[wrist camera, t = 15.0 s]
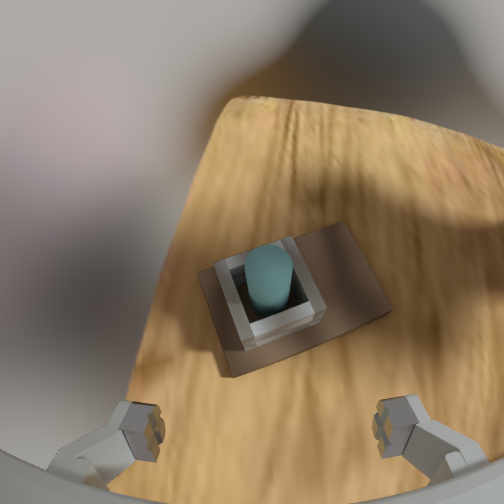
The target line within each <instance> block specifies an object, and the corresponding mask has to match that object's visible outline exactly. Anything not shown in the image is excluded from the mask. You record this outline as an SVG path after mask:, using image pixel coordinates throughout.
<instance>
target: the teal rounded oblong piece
mask: <svg viewBox="0 0 504 504" xmlns="http://www.w3.org/2000/svg"><path fill="white" fill-rule="evenodd" d="M292 270H293V263H292V259H291V257H290V255H289V254H288V253H287V252H286V251H285V250H284V249H282V248H281V247H278V246H275V245H262V246H259V247H257V248H255V249H254V250H252V251H251V252H250V253H249V255H248V256H247V258H246V261H245V274H246V279H247V285H248V291H249V296H250V302H251V307H252V309H253V311H254V313H255V314H256V315H257V316H259V317H261V318H263V319H264V318H267V317H270V316H272V315H275V314H278V313H280V312H283V311H285V310H286V308H287V304H288V298H289V291H290V284H291V277H292Z"/></svg>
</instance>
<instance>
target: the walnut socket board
mask: <svg viewBox="0 0 504 504" xmlns="http://www.w3.org/2000/svg"><path fill="white" fill-rule="evenodd" d="M266 245H275V246H278V247H281V248H282V249H284V250H285V251H286V252H287V253H288V254H289V255H290V257H291V259H292V263H293V270H292V277H291V284H290V291H289V298H288V304H287V308H286V310H285V311H283V312H280V313H278V314H275V315H272V316H270V317H267V318H264V319H263V318H261V317H259V316H257V315H256V314H255V313H254V311H253V309H252V307H251V302H250V296H249V291H248V285H247V279H246V274H245V261H246V258H247V256H248V255H249V253H250V252H251V251H252V250H254V249H252V250H249V251H246V252H243V253H240V254H237V255H235V256H232V257H229V258H226V259H223V260H220V261H217V262H215V263H213V264H214V267H211V268H208V269H206V270H203V271H200V272H198V276H199V279H200V282H201V285H202V288H203V291H204V294H205V297H206V300H207V303H208V307H209V310H210V313H211V316H212V318H213V321H214V324H215V327H216V330H217V333H218V336H219V339H220V342H221V345H222V347H223V350H224V353H225V356H226V359H227V362H228V364H229V367H230V370H231V373H232V375H233V377H234V378H235V377H238V376H241V375H244V374H247V373H249V372H252V371H255V370H258V369H261V368H263V367H266V366H269V365H271V364H274V363H276V362H279V361H282V360H284V359H287V358H289V357H292V356H294V355H297V354H299V353H302V352H304V351H307V350H309V349H311V348H314V347H316V346H318V345H321V344H323V343H325V342H328V341H330V340H332V339H335V338H337V337H339V336H341V335H344V334H346V333H348V332H350V331H352V330H354V329H357V328H359V327H361V326H363V325H365V324H367V323H369V322H371V321H373V320H376V319H378V318H380V317H382V316H384V315H386V314H388V313H390V312H391V311H392V310H393V308H392V306H391V304H390V302H389V300H388V298H387V296H386V295H385V293H384V291H383V289H382V287H381V285H380V283H379V282H378V280H377V278H376V276H375V274H374V272H373V271H372V269H371V267H370V265H369V263H368V262H367V260H366V258H365V256H364V255H363V253H362V251H361V249H360V248H359V246H358V244H357V243H356V241H355V239H354V238H353V236H352V234H351V232H350V231H349V229H348V227H347V226H346V224H345V223H344V221H342V222H339V223H337V224H334V225H331V226H328V227H325V228H322V229H320V230H317V231H314V232H311V233H308V234H305V235H302V236H300V237H297V238H294V239H293V238H292V236H289V237H286V238H283V239H280V240H277V241H275V242H272V243H269V244H266Z"/></svg>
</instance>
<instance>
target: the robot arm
mask: <svg viewBox="0 0 504 504" xmlns="http://www.w3.org/2000/svg"><path fill="white" fill-rule="evenodd" d="M376 408H377V411H378V412H377V413H376V414H375V415H374V417H373V422H372V429H373V434H374V437H375V438H376V439H377V440H379V443H378V449H379V452H380V455H381V458H388V457H394V456H399V455H402V456H403V457H404V458H405V459H406V460H407V461H409V462H410V463H411V464H412V465H414V466H415V467H416V468H417V469H418V470H420V471H421V472H422V473H423V474H425V475H426V476H427V477H428V478H430V479H431V481H430V482H429V484H428V485H427V486H426V487H423V488H419V489H416V490H412V491H409V492H405V493H401V494H397V495H392V496H388V497H383V498H379V499H374V500H369V501H363V502H357V503H351V504H504V457H502V458H500V459H498V460H495V461H493V462H491V463H489V461H488V459H487V457H486V455H485V454H484V452H483V450H482V449H481V447H480V445H479V443H478V442H476V441H474V440H472V439H470V438H468V437H466V436H464V435H462V434H460V433H458V432H457V431H455V430H453V429H451V428H449V427H447V426H445V425H443V424H442V423H440V422H438V421H436V420H431V419H430V417H429V415H428V413H427V412H426V410H425V408H424V406H423V404H422V403H421V401H420V399H419V397H418V396H417V395H416V394H410V395H405V396H400V397H394V398H388V399H382V400H379V401H378V403H377V406H376ZM160 413H161V410H160V407H159V406H158V405H156V404H148V403H141V402H135V401H127V400H121V401H120V402H119V403H118V405H117V407H116V408H115V410H114V412H113V414H112V416H111V418H110V420H109V421H108V423H107V425H106V427H104V426H102V427H100V428H99V429H96V430H95V431H93V432H91V433H89V434H88V435H86V436H84V437H82V438H80V439H78V440H77V441H75V442H73V443H71V444H69V445H67V446H65V447H63V448H61V449H60V450H58V452H57V454H56V455H55V457H54V459H53V460H52V462H51V463H50V465H49V467H48V468H47V470H44V469H42V468H39V467H37V466H35V465H32V464H30V463H28V462H26V461H23V460H21V459H19V458H17V457H15V456H13V455H11V454H8V453H6V452H4V451H2V450H1V449H0V504H169V503H162V502H157V501H151V500H146V499H141V498H136V497H132V496H127V495H123V494H119V493H115V492H111V491H110V490H109V488H108V487H107V486H106V485H107V484H108V483H109V482H110V481H112V480H113V479H114V478H115V477H117V476H118V475H119V474H120V473H122V472H123V471H124V470H125V469H126V468H128V467H129V466H130V465H131V464H132V463H134V462H135V461H136V460H141V461H148V462H155V463H156V461H157V458H158V455H159V453H160V448H159V444H161V443H162V442H163V440H164V437H165V423H164V420H163V419H162V418H161V417H160Z"/></svg>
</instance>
